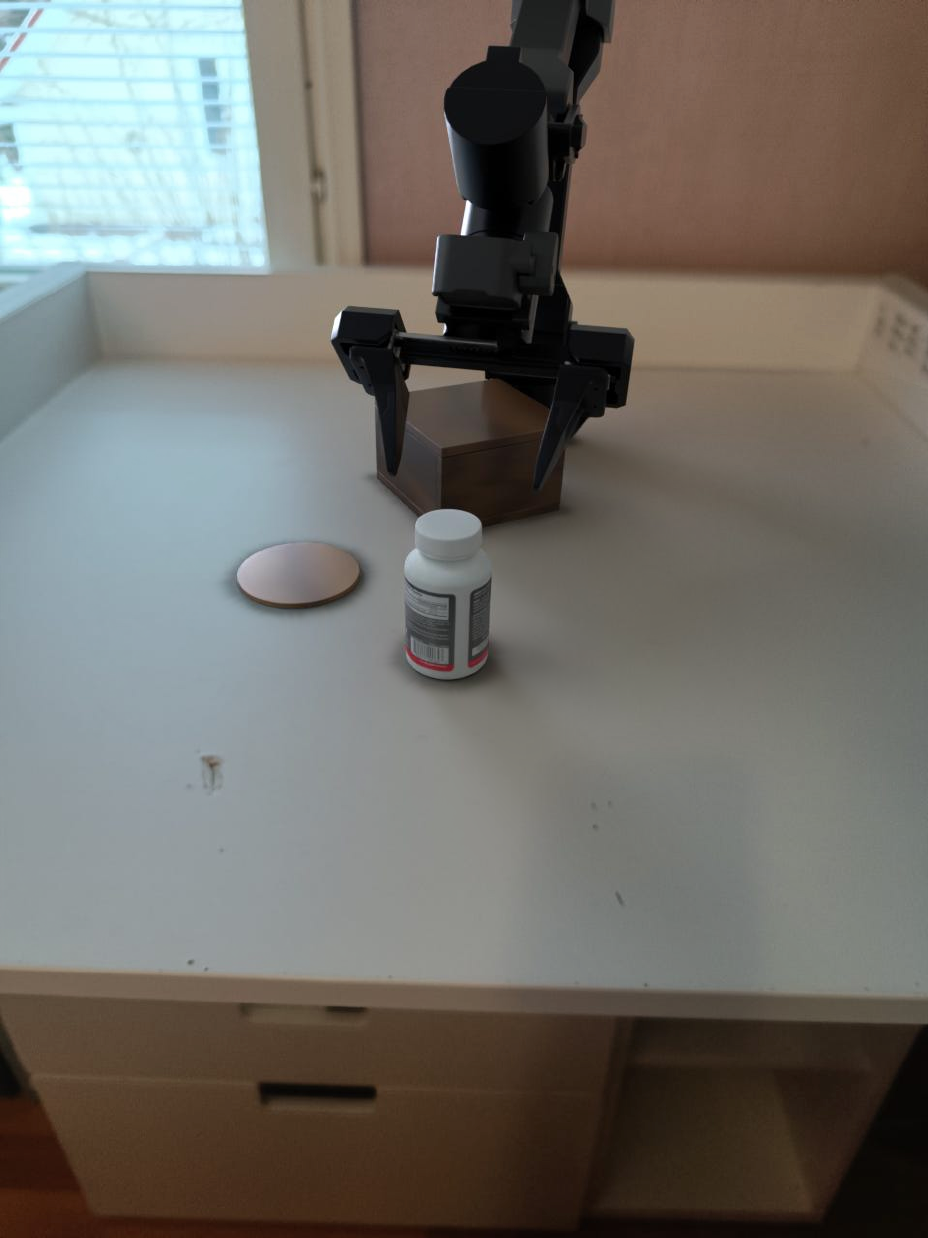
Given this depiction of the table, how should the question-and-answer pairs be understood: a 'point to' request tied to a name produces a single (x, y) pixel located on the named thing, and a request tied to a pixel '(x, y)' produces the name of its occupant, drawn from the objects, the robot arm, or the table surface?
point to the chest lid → (474, 417)
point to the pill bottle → (447, 596)
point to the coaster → (298, 575)
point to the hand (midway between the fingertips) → (462, 482)
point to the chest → (471, 480)
